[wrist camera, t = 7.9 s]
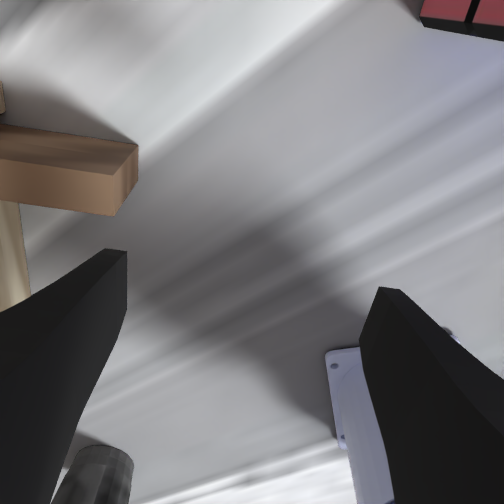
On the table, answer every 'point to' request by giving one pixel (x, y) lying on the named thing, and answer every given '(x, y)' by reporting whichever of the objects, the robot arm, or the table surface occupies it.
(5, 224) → the beige wooden plank
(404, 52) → the table surface
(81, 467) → the beverage cup
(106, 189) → the notched walnut block
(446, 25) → the puzzle cube
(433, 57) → the table surface
